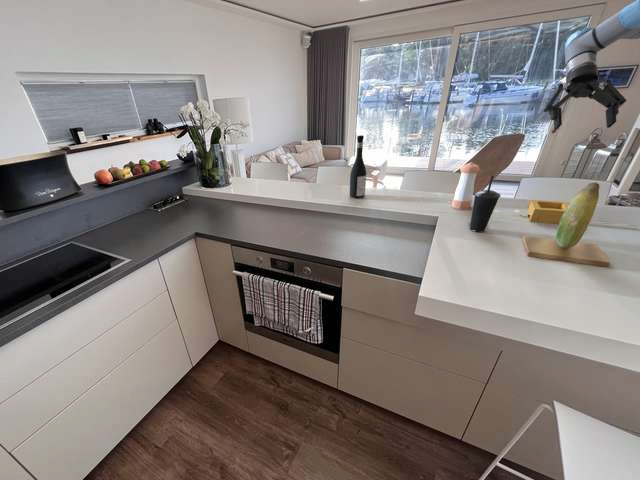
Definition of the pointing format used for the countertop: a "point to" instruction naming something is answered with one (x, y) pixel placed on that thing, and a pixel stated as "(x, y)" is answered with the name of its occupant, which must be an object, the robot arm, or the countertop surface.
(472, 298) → the countertop surface
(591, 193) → the vegetable
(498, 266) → the countertop surface
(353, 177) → the wine bottle
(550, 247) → the board
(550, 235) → the countertop surface
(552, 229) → the countertop surface
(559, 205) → the stand
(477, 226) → the drinking cup
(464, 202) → the pepper shaker
